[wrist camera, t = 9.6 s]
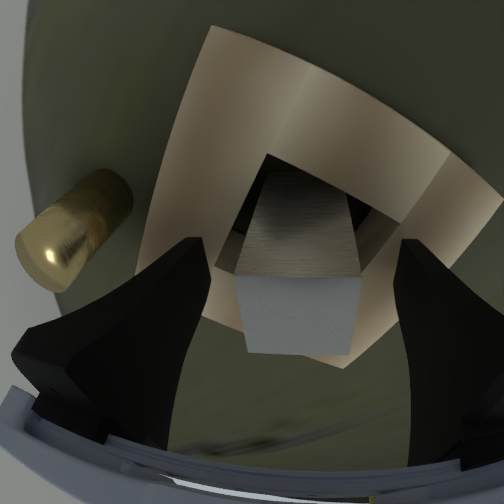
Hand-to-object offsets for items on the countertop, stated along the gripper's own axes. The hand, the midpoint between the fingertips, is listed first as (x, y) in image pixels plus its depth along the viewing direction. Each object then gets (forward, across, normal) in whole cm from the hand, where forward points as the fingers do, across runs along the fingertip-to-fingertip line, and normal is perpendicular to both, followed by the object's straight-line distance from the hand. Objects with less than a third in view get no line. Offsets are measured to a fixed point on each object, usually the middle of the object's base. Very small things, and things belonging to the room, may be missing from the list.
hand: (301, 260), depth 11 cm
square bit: (+4, 0, 0) cm, 4 cm away
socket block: (+4, 0, 0) cm, 4 cm away
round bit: (+4, +10, -1) cm, 11 cm away
